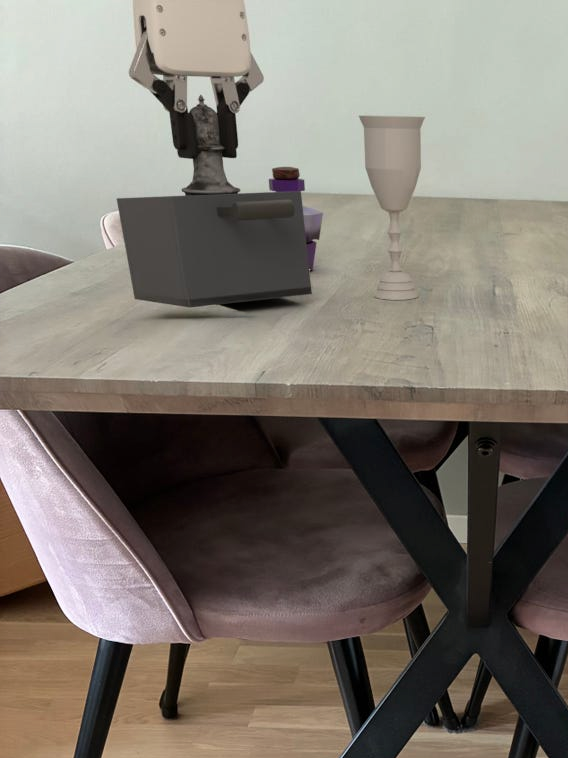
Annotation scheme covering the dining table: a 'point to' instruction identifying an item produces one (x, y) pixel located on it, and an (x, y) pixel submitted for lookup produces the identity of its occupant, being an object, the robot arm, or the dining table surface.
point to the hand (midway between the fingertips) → (207, 155)
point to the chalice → (393, 185)
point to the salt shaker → (208, 155)
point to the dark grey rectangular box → (216, 247)
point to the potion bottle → (288, 181)
